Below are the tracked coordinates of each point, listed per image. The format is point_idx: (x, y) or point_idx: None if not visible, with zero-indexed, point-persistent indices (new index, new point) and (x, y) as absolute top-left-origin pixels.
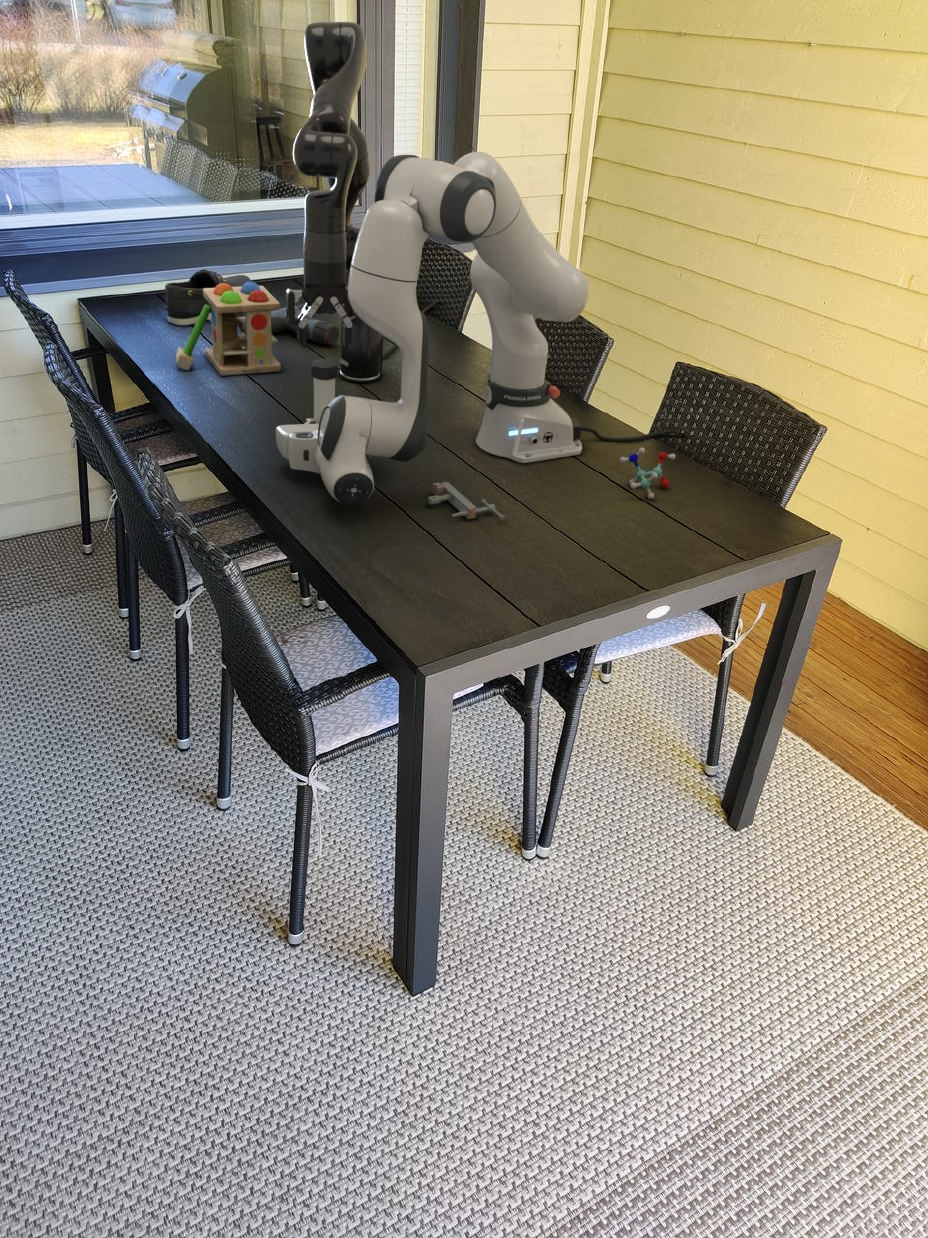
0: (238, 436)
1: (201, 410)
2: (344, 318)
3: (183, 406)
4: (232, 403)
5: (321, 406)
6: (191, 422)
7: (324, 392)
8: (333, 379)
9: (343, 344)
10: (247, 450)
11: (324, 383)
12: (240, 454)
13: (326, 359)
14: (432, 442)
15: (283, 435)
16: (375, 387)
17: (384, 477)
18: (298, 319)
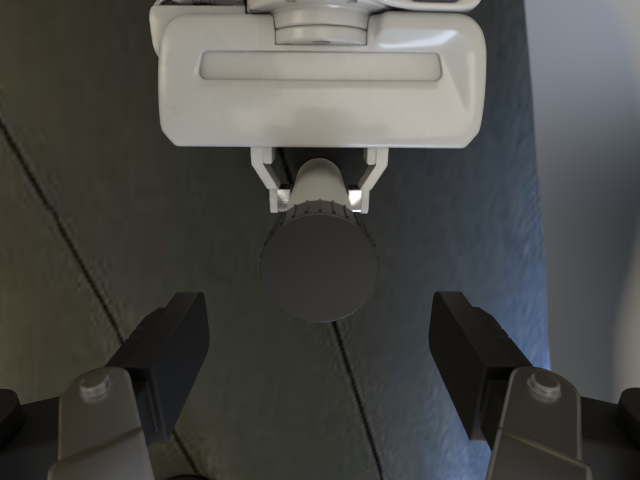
0: (478, 284)
1: None
2: (113, 437)
3: None
4: (449, 418)
5: (334, 186)
6: (548, 351)
7: (326, 194)
8: None
9: (205, 323)
10: (479, 217)
11: None
12: (499, 199)
13: (301, 313)
14: (63, 210)
15: (484, 41)
16: (167, 459)
17: None
18: (583, 453)
